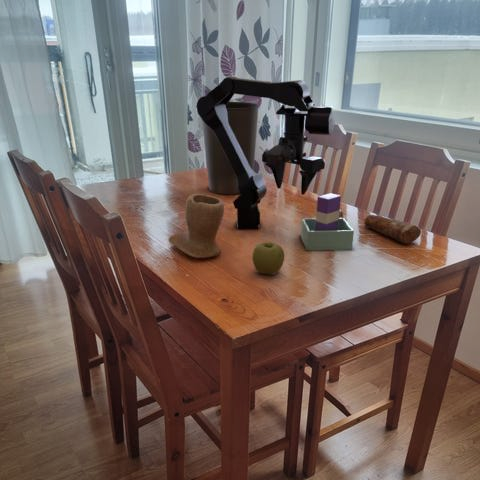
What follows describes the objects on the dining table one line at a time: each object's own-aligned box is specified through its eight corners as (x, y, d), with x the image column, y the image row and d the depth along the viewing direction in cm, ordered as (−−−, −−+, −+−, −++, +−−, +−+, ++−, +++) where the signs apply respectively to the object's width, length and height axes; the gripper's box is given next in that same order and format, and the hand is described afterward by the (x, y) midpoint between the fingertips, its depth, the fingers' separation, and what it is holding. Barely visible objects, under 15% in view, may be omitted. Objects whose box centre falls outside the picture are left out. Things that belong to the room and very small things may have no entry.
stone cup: (233, 255, 124) (232, 199, 117) (193, 265, 119) (189, 206, 111) (205, 238, 135) (203, 186, 128) (168, 246, 130) (163, 192, 123)
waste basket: (196, 182, 191) (192, 101, 176) (243, 178, 197) (243, 100, 182) (215, 200, 169) (212, 109, 154) (267, 195, 175) (269, 106, 160)
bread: (403, 247, 128) (407, 228, 126) (359, 227, 143) (362, 209, 141) (421, 243, 131) (425, 224, 128) (376, 224, 146) (378, 206, 143)
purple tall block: (314, 240, 131) (317, 196, 125) (326, 236, 134) (330, 192, 128) (324, 244, 129) (328, 199, 123) (336, 239, 132) (341, 195, 126)
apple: (260, 281, 110) (261, 253, 107) (246, 268, 117) (246, 241, 113) (289, 276, 113) (290, 248, 109) (274, 263, 119) (274, 237, 116)
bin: (306, 250, 127) (308, 231, 124) (300, 236, 137) (301, 218, 134) (351, 249, 127) (353, 230, 125) (342, 235, 137) (344, 217, 134)
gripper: (247, 132, 128) (247, 190, 135) (300, 140, 116) (296, 203, 123) (276, 128, 134) (274, 183, 142) (328, 135, 122) (323, 195, 130)
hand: (290, 191), depth 134 cm, fingers open, 9 cm apart
